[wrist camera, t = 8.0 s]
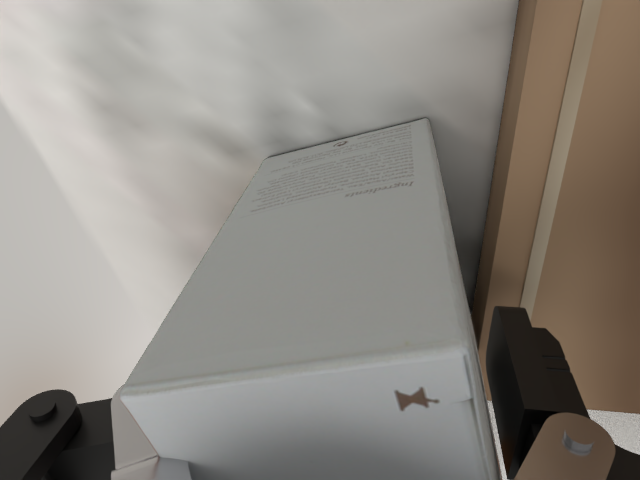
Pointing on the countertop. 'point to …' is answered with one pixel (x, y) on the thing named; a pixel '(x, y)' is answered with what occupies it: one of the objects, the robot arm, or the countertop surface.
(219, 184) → the countertop surface
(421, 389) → the small box
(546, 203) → the plank
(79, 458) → the robot arm
